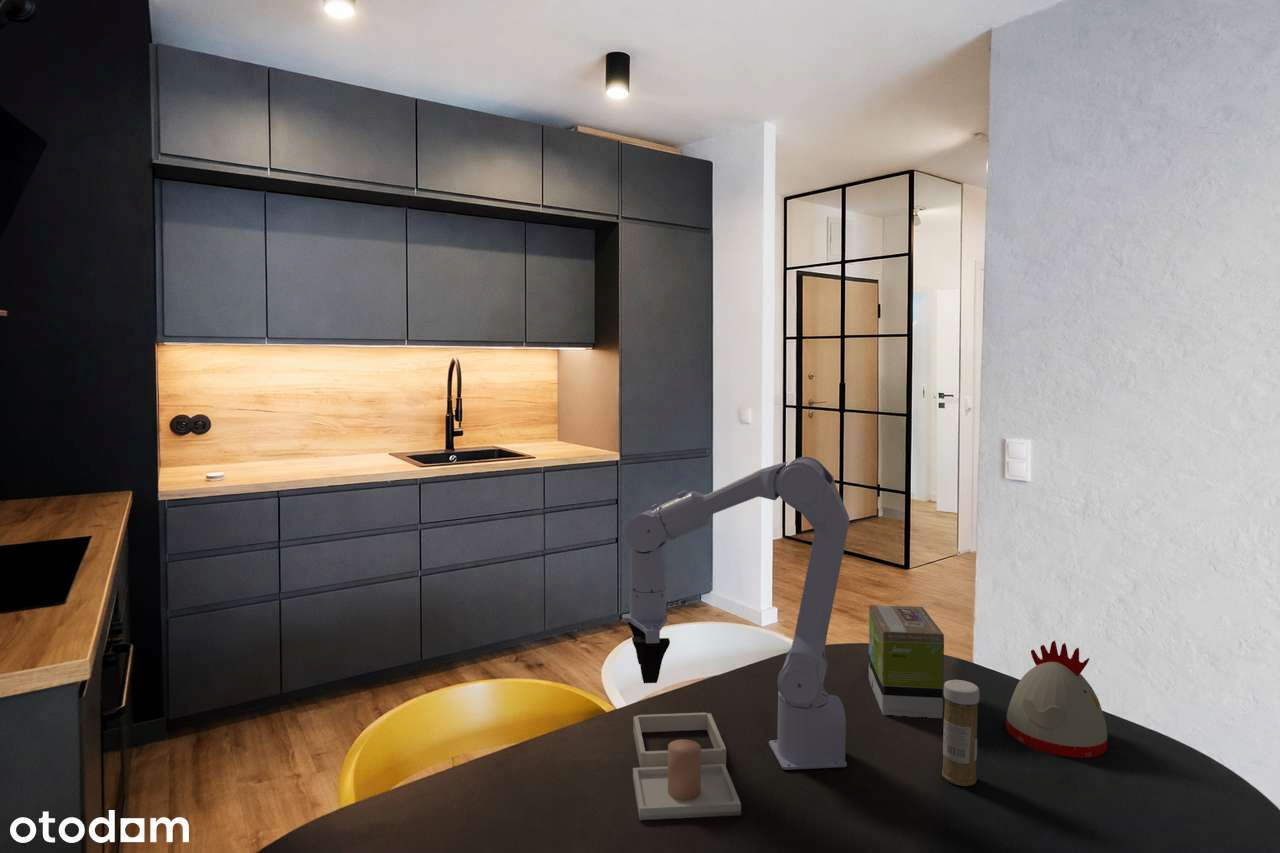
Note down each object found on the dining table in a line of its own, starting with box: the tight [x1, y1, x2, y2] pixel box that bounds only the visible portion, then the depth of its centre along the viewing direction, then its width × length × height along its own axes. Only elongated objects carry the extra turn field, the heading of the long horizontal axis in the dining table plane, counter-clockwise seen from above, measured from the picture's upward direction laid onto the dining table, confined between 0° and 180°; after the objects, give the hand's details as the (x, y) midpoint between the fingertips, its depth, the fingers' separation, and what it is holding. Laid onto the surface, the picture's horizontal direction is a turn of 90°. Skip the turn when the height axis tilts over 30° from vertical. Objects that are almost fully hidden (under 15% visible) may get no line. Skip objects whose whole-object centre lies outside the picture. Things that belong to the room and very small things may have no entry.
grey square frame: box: [632, 712, 727, 768], centre depth 112 cm, size 12×12×2 cm
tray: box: [632, 764, 742, 821], centre depth 99 cm, size 13×10×2 cm
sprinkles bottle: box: [941, 679, 980, 787], centre depth 104 cm, size 5×5×14 cm
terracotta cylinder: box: [667, 738, 702, 800], centre depth 99 cm, size 4×4×6 cm
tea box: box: [868, 604, 945, 719], centre depth 130 cm, size 15×10×15 cm
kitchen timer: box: [1005, 640, 1108, 759], centre depth 117 cm, size 14×14×15 cm
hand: (647, 672), depth 117 cm, fingers open, 7 cm apart
